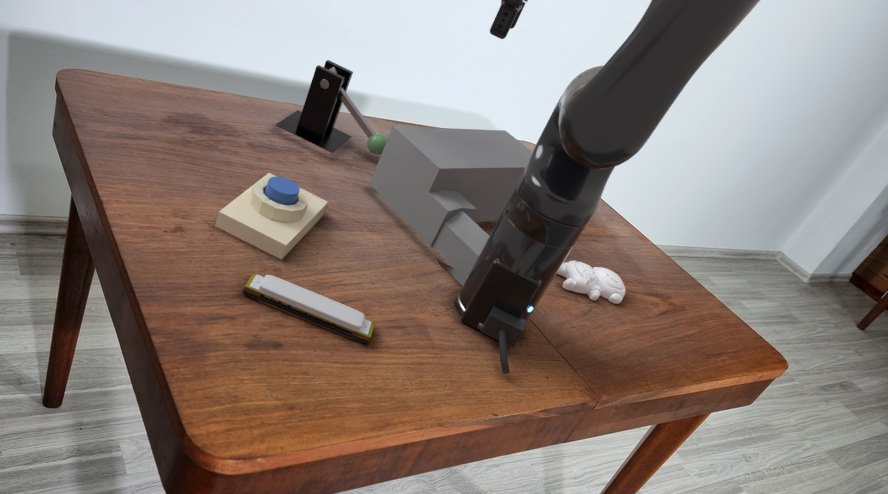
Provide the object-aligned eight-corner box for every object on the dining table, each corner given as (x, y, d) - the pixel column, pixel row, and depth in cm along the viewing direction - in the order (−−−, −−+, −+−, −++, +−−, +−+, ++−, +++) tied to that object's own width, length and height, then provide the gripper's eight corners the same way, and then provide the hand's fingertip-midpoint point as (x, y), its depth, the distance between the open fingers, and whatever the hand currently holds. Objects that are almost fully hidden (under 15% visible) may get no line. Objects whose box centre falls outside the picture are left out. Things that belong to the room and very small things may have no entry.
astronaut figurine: (546, 259, 110) (555, 244, 108) (610, 276, 113) (620, 261, 112) (564, 294, 103) (574, 278, 101) (632, 311, 107) (643, 296, 105)
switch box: (281, 260, 84) (290, 232, 82) (214, 226, 85) (222, 198, 83) (323, 215, 96) (332, 190, 94) (264, 186, 96) (272, 160, 94)
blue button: (287, 210, 87) (292, 198, 86) (259, 195, 87) (262, 183, 86) (300, 198, 90) (304, 186, 89) (272, 184, 90) (276, 172, 89)
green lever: (379, 154, 114) (395, 143, 113) (373, 161, 111) (389, 150, 110) (322, 76, 111) (337, 63, 109) (314, 81, 108) (330, 68, 106)
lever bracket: (349, 142, 118) (373, 76, 111) (330, 159, 110) (354, 90, 104) (295, 116, 118) (316, 49, 112) (273, 131, 111) (294, 60, 104)
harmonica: (241, 295, 76) (245, 281, 75) (250, 281, 79) (255, 267, 78) (366, 347, 77) (372, 333, 76) (371, 330, 80) (377, 317, 79)
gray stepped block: (463, 289, 94) (499, 222, 88) (366, 190, 106) (392, 126, 101) (572, 269, 110) (608, 212, 104) (477, 186, 123) (505, 130, 117)
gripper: (586, -84, 79) (520, 53, 88) (591, -87, 91) (532, 34, 100) (525, -112, 79) (465, 27, 88) (538, -111, 91) (484, 11, 100)
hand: (501, 30), depth 94 cm, fingers open, 8 cm apart
